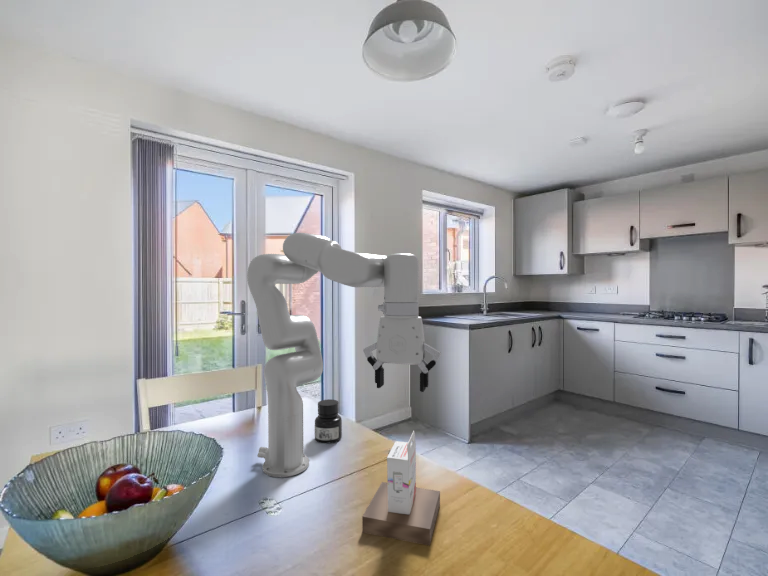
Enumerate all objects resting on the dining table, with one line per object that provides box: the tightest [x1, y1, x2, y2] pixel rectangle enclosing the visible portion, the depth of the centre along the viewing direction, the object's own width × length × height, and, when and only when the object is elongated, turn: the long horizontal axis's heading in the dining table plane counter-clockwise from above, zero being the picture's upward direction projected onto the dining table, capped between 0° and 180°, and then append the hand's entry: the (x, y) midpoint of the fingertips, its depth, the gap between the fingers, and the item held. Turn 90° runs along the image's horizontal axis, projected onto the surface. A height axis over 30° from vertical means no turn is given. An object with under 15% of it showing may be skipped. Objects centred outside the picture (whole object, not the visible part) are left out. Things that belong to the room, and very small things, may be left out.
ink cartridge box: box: [386, 430, 417, 515], centre depth 82 cm, size 9×5×15 cm, turn 166°
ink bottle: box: [314, 399, 343, 444], centre depth 124 cm, size 10×9×12 cm
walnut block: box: [361, 481, 441, 547], centre depth 82 cm, size 14×14×4 cm
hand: (401, 388), depth 82 cm, fingers open, 9 cm apart
